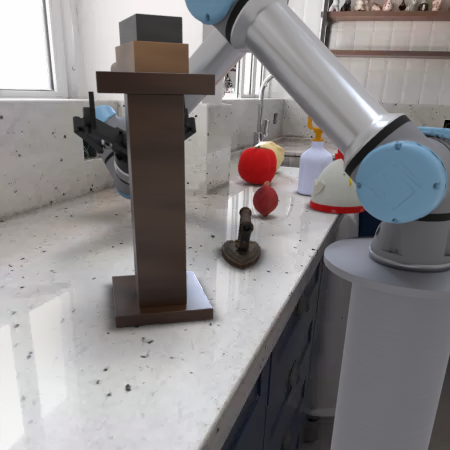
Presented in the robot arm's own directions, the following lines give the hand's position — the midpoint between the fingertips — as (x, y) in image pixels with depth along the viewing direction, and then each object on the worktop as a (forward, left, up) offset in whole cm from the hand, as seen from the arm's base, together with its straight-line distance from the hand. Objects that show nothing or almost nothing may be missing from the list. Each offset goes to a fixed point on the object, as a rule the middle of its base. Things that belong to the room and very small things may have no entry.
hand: (137, 100), depth 73 cm
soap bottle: (-32, -64, -25) cm, 76 cm away
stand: (-7, +18, -25) cm, 32 cm away
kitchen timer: (-37, -46, -25) cm, 65 cm away
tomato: (-15, -77, -25) cm, 83 cm away
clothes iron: (-16, -1, -25) cm, 30 cm away
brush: (-3, +11, +3) cm, 12 cm away
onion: (-19, -33, -25) cm, 46 cm away
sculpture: (-17, -101, -25) cm, 106 cm away
